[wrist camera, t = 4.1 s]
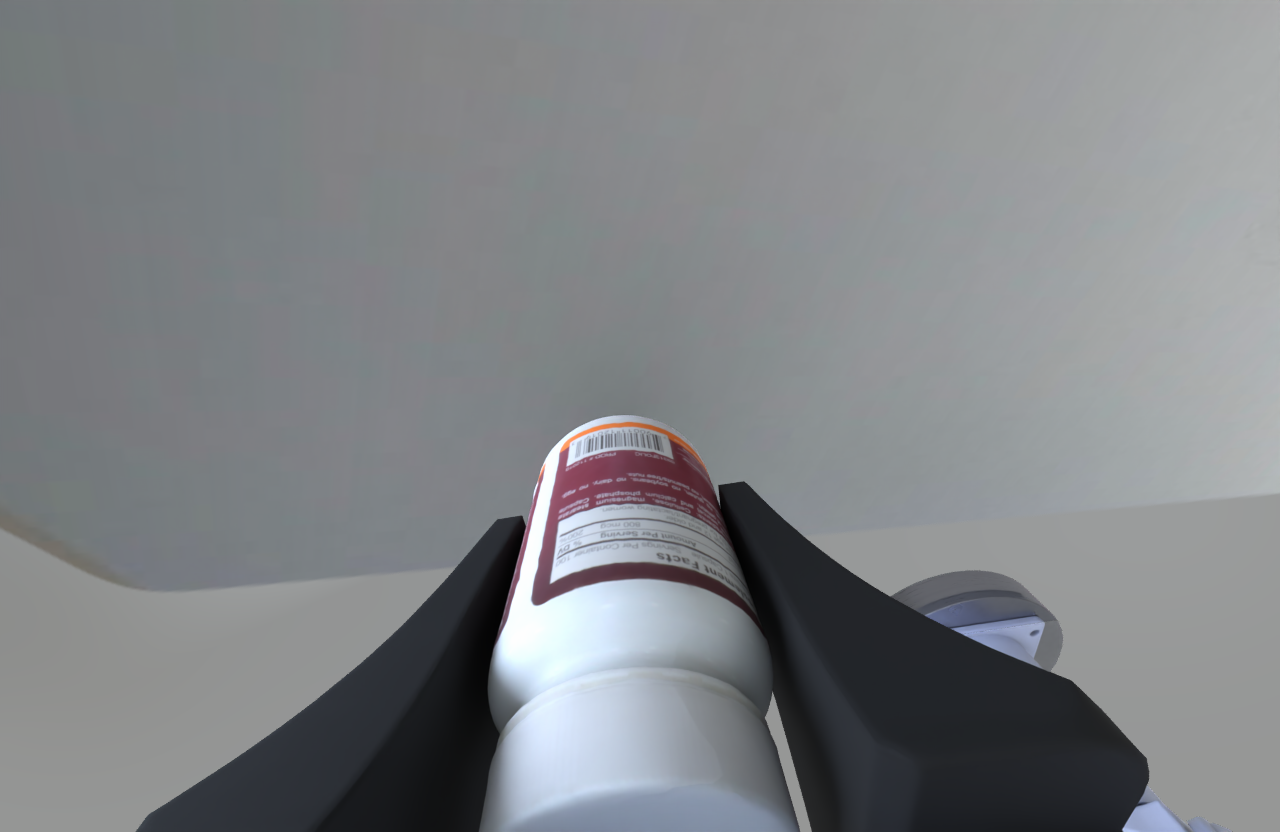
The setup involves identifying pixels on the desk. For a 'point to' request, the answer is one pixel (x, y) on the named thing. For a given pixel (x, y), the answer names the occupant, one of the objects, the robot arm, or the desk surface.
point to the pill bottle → (631, 652)
